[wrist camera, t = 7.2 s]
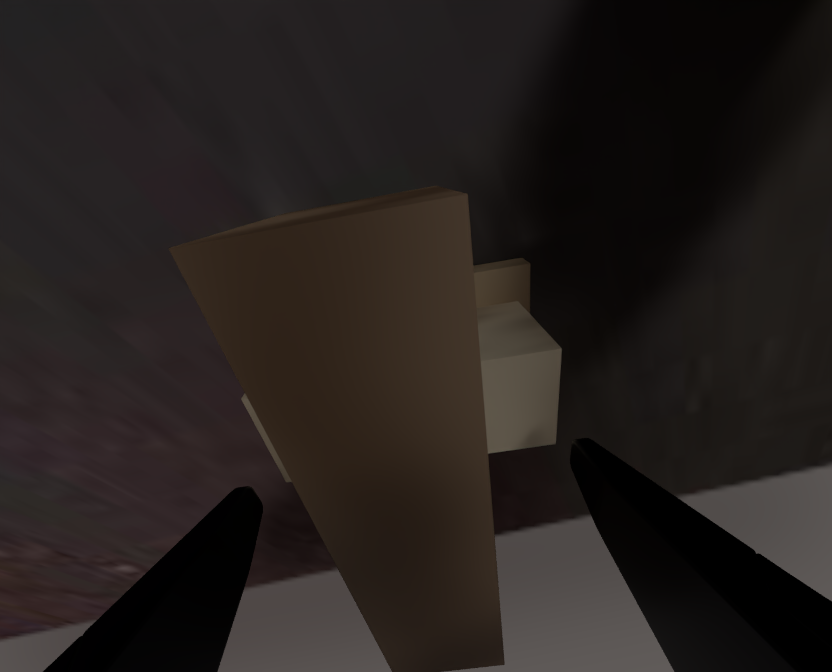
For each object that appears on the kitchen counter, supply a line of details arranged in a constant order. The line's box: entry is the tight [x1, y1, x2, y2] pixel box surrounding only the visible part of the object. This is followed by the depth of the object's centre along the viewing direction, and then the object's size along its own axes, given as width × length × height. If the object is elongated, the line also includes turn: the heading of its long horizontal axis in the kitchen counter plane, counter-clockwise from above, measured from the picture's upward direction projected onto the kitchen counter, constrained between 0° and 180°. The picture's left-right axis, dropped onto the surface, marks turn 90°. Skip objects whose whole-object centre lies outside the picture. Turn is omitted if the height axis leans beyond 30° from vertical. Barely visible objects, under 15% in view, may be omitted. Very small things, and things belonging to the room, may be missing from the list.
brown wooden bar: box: [168, 186, 504, 672], centre depth 9 cm, size 4×14×4 cm, turn 9°
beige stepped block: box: [241, 258, 562, 482], centre depth 13 cm, size 11×7×5 cm, turn 99°
